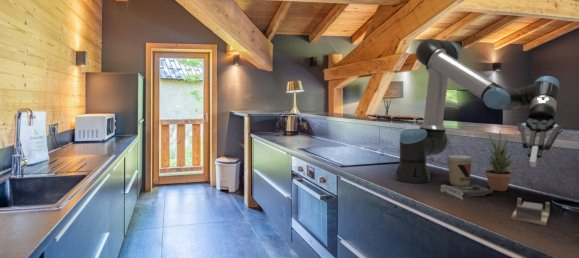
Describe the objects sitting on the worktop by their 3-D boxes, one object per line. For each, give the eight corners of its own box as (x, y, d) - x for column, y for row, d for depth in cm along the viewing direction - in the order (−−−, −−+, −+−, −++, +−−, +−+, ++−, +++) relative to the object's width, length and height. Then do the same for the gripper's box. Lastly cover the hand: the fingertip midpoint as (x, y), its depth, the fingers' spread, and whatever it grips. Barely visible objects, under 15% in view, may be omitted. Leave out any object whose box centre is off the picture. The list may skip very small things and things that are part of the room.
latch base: (517, 208, 114) (518, 196, 114) (549, 213, 108) (550, 201, 108) (511, 219, 103) (511, 206, 103) (545, 225, 98) (546, 211, 98)
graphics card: (460, 192, 125) (440, 184, 136) (460, 202, 125) (439, 193, 137) (500, 190, 128) (477, 182, 140) (499, 199, 128) (476, 191, 140)
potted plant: (479, 187, 144) (481, 128, 142) (496, 185, 146) (498, 128, 145) (500, 193, 134) (502, 130, 132) (518, 191, 137) (520, 129, 135)
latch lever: (523, 200, 112) (518, 209, 104) (543, 203, 109) (540, 212, 101) (523, 206, 112) (518, 215, 104) (543, 209, 109) (539, 218, 101)
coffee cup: (461, 187, 145) (460, 158, 144) (443, 182, 153) (442, 156, 152) (476, 184, 148) (476, 156, 147) (458, 180, 157) (458, 154, 156)
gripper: (519, 103, 123) (508, 154, 112) (565, 104, 115) (558, 159, 104) (520, 117, 128) (509, 168, 117) (565, 119, 119) (558, 174, 108)
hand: (532, 164), depth 110 cm, fingers closed
